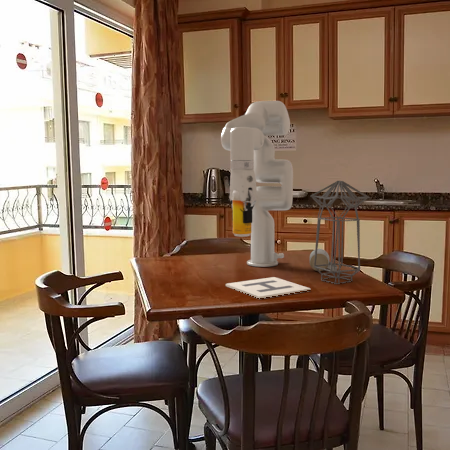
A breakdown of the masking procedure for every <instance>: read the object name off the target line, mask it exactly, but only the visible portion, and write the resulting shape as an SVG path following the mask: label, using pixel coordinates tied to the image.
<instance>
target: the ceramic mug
mask: <svg viewBox="0 0 450 450" xmlns="http://www.w3.org/2000/svg"><path fill="white" fill-rule="evenodd" d="M314 260H315V249H313V250H312V252H311V253H310V254H309V266H310V268H312V269H313V270H314V271H316V272H319V271H320V272H323V271H324V270H322V269H318V270H319V271H318V270H317V269H316V268H314ZM323 264H331V257H330V255H329V253H328V252H327V250H325V249H323V248H318V249H317V258H316V265H323ZM318 267H320V268H324V269H328V270H331V265H327V266H318ZM338 269H339V266H338V265H335V271H338ZM332 271H334V265H332Z"/></svg>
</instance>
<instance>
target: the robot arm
mask: <svg viewBox="0 0 450 450" xmlns="http://www.w3.org/2000/svg"><path fill="white" fill-rule="evenodd" d="M290 129H291V119H290V116H289V112H288V109H287V106H286V105H285V104H284V102H282V101H280V100H259V101H255V102H252V103H250V105H249V106H248V108H247V110H246V112H245V113H244V114H243V115H240V116H238V117H236V118H233V119H231V120H230V121H228V122H227V123H226V124H225V126H224V127H223V128H222V131H221V135H220V143H221V146H222V148H223V149H224V150H225V151H229V152H230V154H229V155H230V162H229V163H230V164H229V165H230V169H229V170H230V180H229V195H228V198H229V201H230V204H231V211H232V216H231V217H232V221H233V191H234V190H238V192H239V195H240V201H242V202H243V206H244V211H243V223H251V234H250V259H248V260H247V261H246V264H247V265H248V266H250V267H251V266H252V267H256V268H257V267H259V268H261V267H263V268H265V267H266V268H267V267H275V266H278V264H279V261H278V259H283V258H285V254H284V253H283V252H282V253H277V252H275V219H274V217H273V216H272V215H271V213H270V211H288V210H290V209H292V206H293V200H294V199H293V197H294V196H293V194H294V193H293V191H294V190H293V189H294V168H293V164H292V161H290V160H288V159H282V158H281V159H279V158H278V159H277V158H275V154H276V153H275V152H276V151H275V150H276V148H275V145H274V144H273V142H272V141H271V140H270V138H269V137H271V136H275V137H276V136H286V135H288V133H289V132H290ZM257 183H258V184H259V183H260V184H280V185H281V186H280V185H279V186H275V185H274V186H272V185H271V186H268V185H265V186H264V185H260V186H259V185H258V186H257ZM247 199H249V201H246V200H247ZM246 203H248V205H247V204H246Z"/></svg>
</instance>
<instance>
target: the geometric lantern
mask: <svg viewBox="0 0 450 450" xmlns="http://www.w3.org/2000/svg"><path fill="white" fill-rule="evenodd" d="M339 189H340V194H341V195H340V196H339ZM325 190H326V191H325ZM323 191H325V193H323V194H322V195H321V196H320V195H318V194H319V193H321V192H323ZM353 191H355V192H356V193H358V194H360V195H362V196H357V195H356V194H355V193H354V192H353ZM334 194H335V195H334ZM347 194H348V195H347ZM310 198H312V200H313V201H314V202H316V204H317V205H318V206H319V209H318V210H319V211H318V213H317V217H316V218H317V223H316V236H315V237H316V238H315V249H314V250H315V260H314V268H316V269H317V270H318V269H322V270H323V271H326V272H323V273H322V271H319V270H318V271H317V272H318V273H319V274H320V276H321V278H320V280H321V282H322V281H323V282H325V281H326V283H329V282H331V283H330V284H333V283H334V285H341V284H340V283H342V284H347V283H351V281H352V282H353V277H354V276H355V275H356V274H358V273H359V272H361V255H360V253H361V251H360V249H361V245H360V244H361V240H360V239H361V238H360V237H361V236H360V234H361V233H360V230H361V229H360V226H361V225H360V224H361V223H360V222H361V221H360V220H361V219H360V218H359V213H358V212H359V211H358V207H359V206H360V204H362V203H363V202H365V201H366V200H367V199H370V198H371V197H370V196H369V195H367V194H365V193H363V192H362V191H360V190H358V189H357V188H355V187H353V186H352V185H351V184H348V183H347V182H346V181H344V180H336V181H335V182H333V183H331V184H328V185H327V186H326V187H324V188H322V189H320V190H319V191H317V192H315V193H313V194H311V195H310ZM322 199H323V202H322V201H321V200H322ZM337 199H340V200H341V201H342V202H343V203H344V205H345V206H346V207H345V209H344V210H343V211H342V213H341V214H340V215H339V216H338V215H337V213H336V211H334V209H333V207H332V205H333V204H334V202H335V201H336V200H337ZM327 200H329V202H328V203H327V202H326V201H327ZM351 201H352V203H351ZM354 202H355V203H354ZM329 207H330V208H329ZM324 208H326V209H327V211H328V213H329V215H330V217H329V216H328V217H327V216H326V217H322V214H323V212H324ZM353 208H354V212H355V217H356V218H352V217H346V215H347V213H348V212H349V210H350V209H353ZM330 209H331V210H332V212H333V213H334V215H335V216H334V215H333V214H332V212H331V210H330ZM342 215H343V216H342ZM339 219H340V220H339ZM321 220H323V221H330V222H332V233H331V234H332V238H331V239H332V240H331V253H330V254H331V255H330V262H331V264H323V265H316V258H317V249H319V239H320V230H321ZM335 222H336V227H335ZM344 222H356V235H357V256H358V257H357V263H358V264H357V266H353V265H349V264H345V263H343V259H344V256H343V255H344ZM335 229H336V230H335ZM334 240H335V241H334ZM337 244H338V246H337ZM337 247H338V249H337ZM337 250H338V263H336V256H337ZM327 265H331V270H330V269H328V268H326V269H324V268H320V267H318V266H327ZM332 265H334V271H332ZM335 265H336V266H338V269H337V270H336V271H335ZM342 266H343V267H347V268H353V269H343V270H341V268H342ZM346 272H353V273H346ZM328 274H329V275H328ZM330 274H332V275H330ZM341 274H342V276H340V275H341ZM323 276H326V277H325V278H323ZM328 278H329V279H333V278H334V282H332V281H328ZM322 279H323V280H322ZM326 279H327V280H326ZM337 279H338V280H337ZM340 279H342V280H347V281H343V282H341V281H340ZM350 280H351V281H350ZM346 282H347V283H346Z"/></svg>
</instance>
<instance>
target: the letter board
mask: <svg viewBox="0 0 450 450" xmlns="http://www.w3.org/2000/svg"><path fill="white" fill-rule="evenodd" d="M225 287H227V288H230V289H232V290H234V289H235V290H234V291H237V292H239V291H240V293H242V292H243V293H242V294H245V293H246V294H245V295H247V294H249V295H248V296H250V295H251V296H250V297H252V296H254V297H253V298H255V297H256V298H255V299H257V298H259V299H258V300H261V299H260V298H264V299H267V298H266V297H270V298H273V297H272V296H276V297H279V296H278V295H282V296H285V295H284V294H288V295H291V294H290V293H294V294H296V293H295V292H300V291H307V290H311V288H310V287H307V286H303V285H301V284H297V283H295V282H291V281H289V280H285V279H282V278H280V277H275V276H271V277H266V278H265V277H263V278H258V279H257V278H256V279H249V280H242V281H237V282H236V281H235V282H228V283H225ZM307 292H308V291H307ZM300 293H301V292H300Z"/></svg>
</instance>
